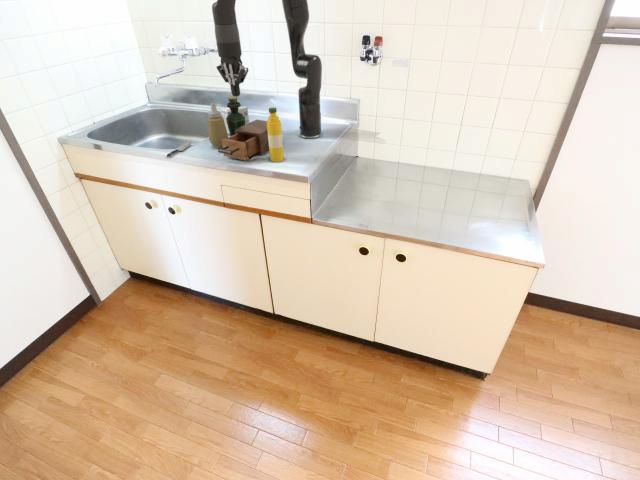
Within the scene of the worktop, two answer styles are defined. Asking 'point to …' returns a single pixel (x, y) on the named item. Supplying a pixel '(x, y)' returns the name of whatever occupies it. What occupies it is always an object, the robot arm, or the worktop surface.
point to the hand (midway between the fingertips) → (236, 95)
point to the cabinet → (257, 134)
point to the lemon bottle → (274, 136)
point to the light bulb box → (241, 110)
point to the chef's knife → (180, 148)
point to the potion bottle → (234, 116)
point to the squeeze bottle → (216, 127)
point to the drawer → (240, 146)
